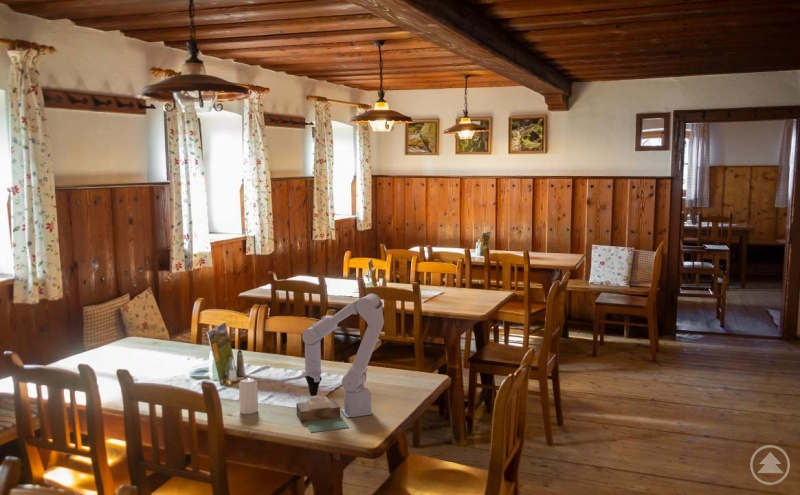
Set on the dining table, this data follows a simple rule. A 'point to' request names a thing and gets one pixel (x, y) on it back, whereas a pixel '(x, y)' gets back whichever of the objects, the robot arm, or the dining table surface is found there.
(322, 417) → the riser
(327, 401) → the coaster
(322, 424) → the mat
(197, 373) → the dining table surface
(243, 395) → the can
